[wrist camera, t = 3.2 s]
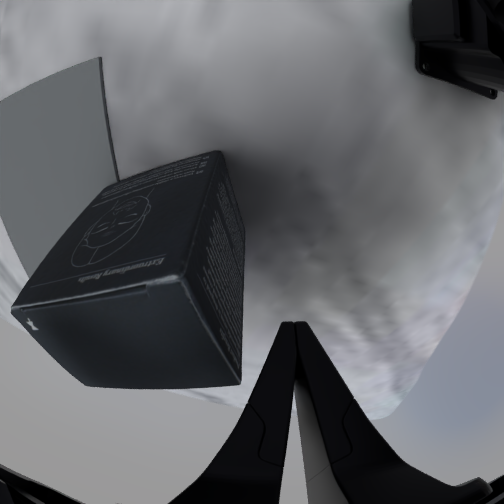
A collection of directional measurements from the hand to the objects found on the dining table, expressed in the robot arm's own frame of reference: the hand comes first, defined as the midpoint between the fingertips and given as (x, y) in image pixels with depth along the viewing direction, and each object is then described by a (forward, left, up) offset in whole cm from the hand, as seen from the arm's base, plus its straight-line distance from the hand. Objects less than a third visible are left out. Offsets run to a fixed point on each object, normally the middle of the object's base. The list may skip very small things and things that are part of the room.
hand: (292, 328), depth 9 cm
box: (+6, 0, -9) cm, 11 cm away
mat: (+17, 0, -9) cm, 19 cm away
